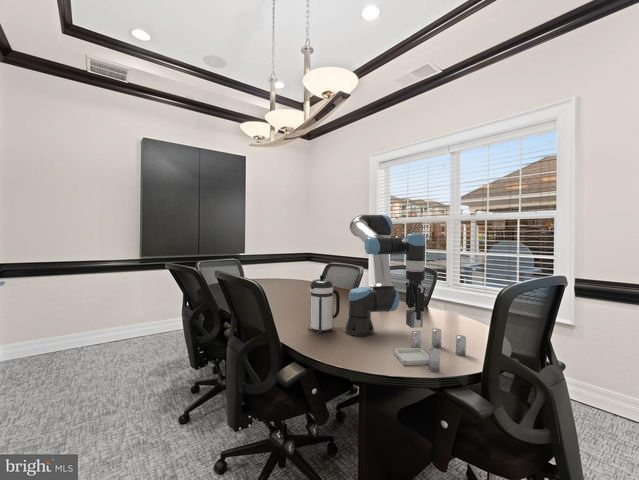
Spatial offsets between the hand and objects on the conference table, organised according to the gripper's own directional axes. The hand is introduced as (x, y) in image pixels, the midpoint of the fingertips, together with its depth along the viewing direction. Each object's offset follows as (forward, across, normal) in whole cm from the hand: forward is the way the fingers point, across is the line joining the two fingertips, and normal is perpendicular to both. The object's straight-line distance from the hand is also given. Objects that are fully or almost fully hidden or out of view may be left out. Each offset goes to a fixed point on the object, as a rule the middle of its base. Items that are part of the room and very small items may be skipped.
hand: (414, 324), depth 131 cm
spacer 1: (+15, +10, -6) cm, 18 cm away
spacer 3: (+14, -11, -3) cm, 19 cm away
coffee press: (+15, +42, +33) cm, 56 cm away
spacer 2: (+15, +12, -17) cm, 25 cm away
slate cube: (0, 0, 0) cm, 0 cm away
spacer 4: (+15, +1, -22) cm, 27 cm away
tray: (+15, 0, 0) cm, 15 cm away
